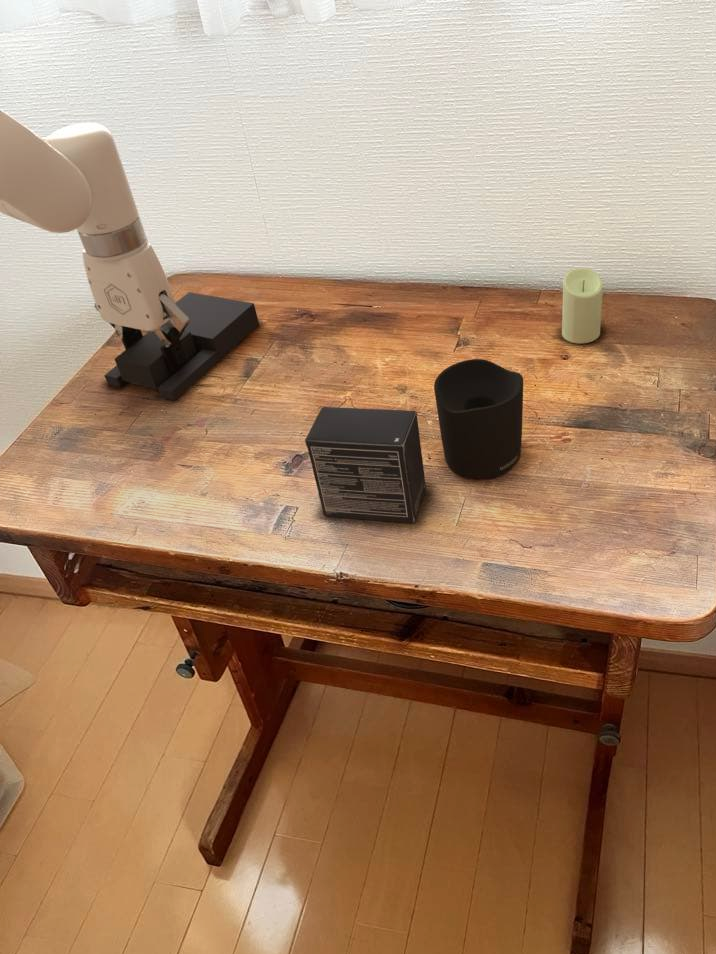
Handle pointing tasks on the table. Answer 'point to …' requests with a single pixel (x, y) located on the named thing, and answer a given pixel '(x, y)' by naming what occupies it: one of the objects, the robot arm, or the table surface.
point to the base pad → (204, 338)
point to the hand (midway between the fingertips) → (158, 361)
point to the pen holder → (480, 417)
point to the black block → (150, 360)
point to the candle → (581, 305)
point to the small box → (367, 463)
